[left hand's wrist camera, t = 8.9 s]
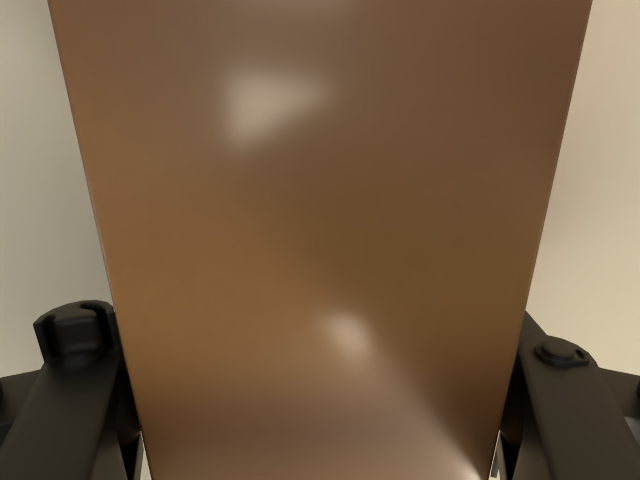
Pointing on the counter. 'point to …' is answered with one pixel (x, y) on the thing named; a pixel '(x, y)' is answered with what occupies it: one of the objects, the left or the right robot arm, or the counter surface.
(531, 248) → the post
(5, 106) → the counter surface
